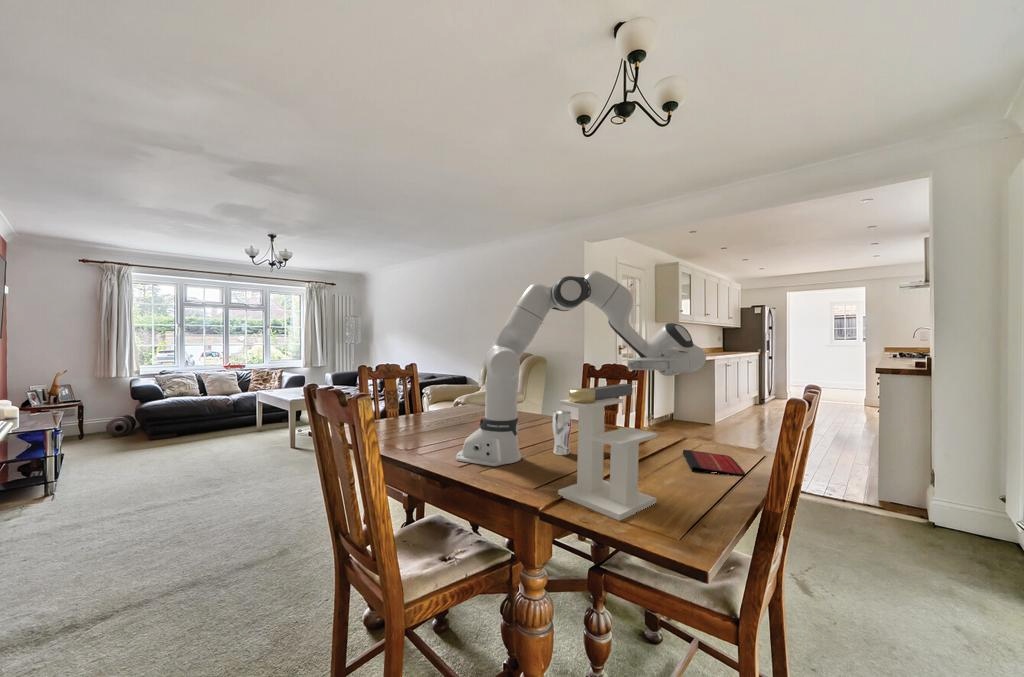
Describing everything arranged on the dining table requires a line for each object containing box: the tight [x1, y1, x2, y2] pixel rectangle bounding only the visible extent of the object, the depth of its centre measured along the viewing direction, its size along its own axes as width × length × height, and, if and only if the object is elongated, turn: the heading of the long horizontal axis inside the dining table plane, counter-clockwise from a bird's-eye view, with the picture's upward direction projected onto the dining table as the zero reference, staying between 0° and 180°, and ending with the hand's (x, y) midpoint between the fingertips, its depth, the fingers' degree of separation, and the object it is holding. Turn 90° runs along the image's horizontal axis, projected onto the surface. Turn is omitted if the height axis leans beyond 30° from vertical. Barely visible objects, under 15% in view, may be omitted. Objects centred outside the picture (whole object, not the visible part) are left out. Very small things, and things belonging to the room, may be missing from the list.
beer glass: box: [552, 409, 573, 456], centre depth 158 cm, size 7×7×15 cm
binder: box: [682, 449, 745, 477], centre depth 148 cm, size 16×2×21 cm
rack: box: [557, 397, 659, 522], centre depth 116 cm, size 16×20×26 cm
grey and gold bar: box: [568, 383, 633, 404], centre depth 123 cm, size 24×7×3 cm, turn 131°
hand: (641, 366), depth 135 cm, fingers open, 8 cm apart
